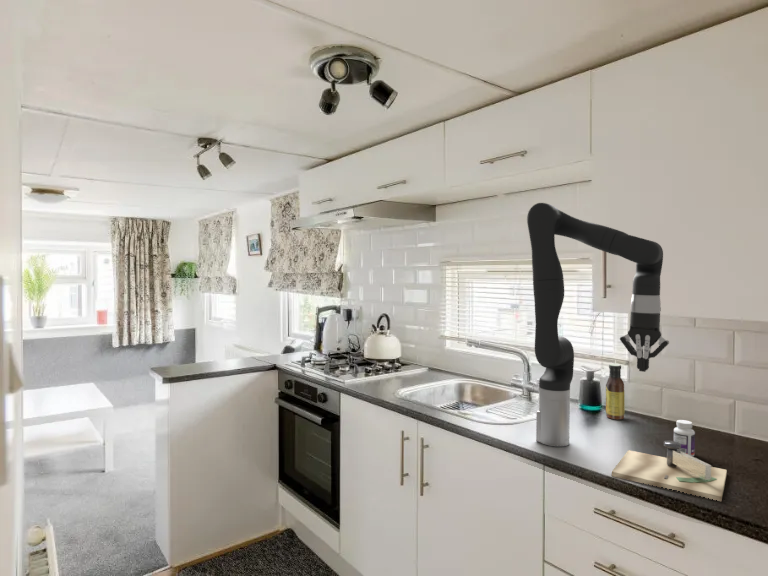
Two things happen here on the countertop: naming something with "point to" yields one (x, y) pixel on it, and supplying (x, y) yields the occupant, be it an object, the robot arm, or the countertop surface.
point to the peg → (686, 461)
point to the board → (669, 475)
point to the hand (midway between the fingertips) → (642, 371)
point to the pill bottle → (685, 437)
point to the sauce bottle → (615, 393)
